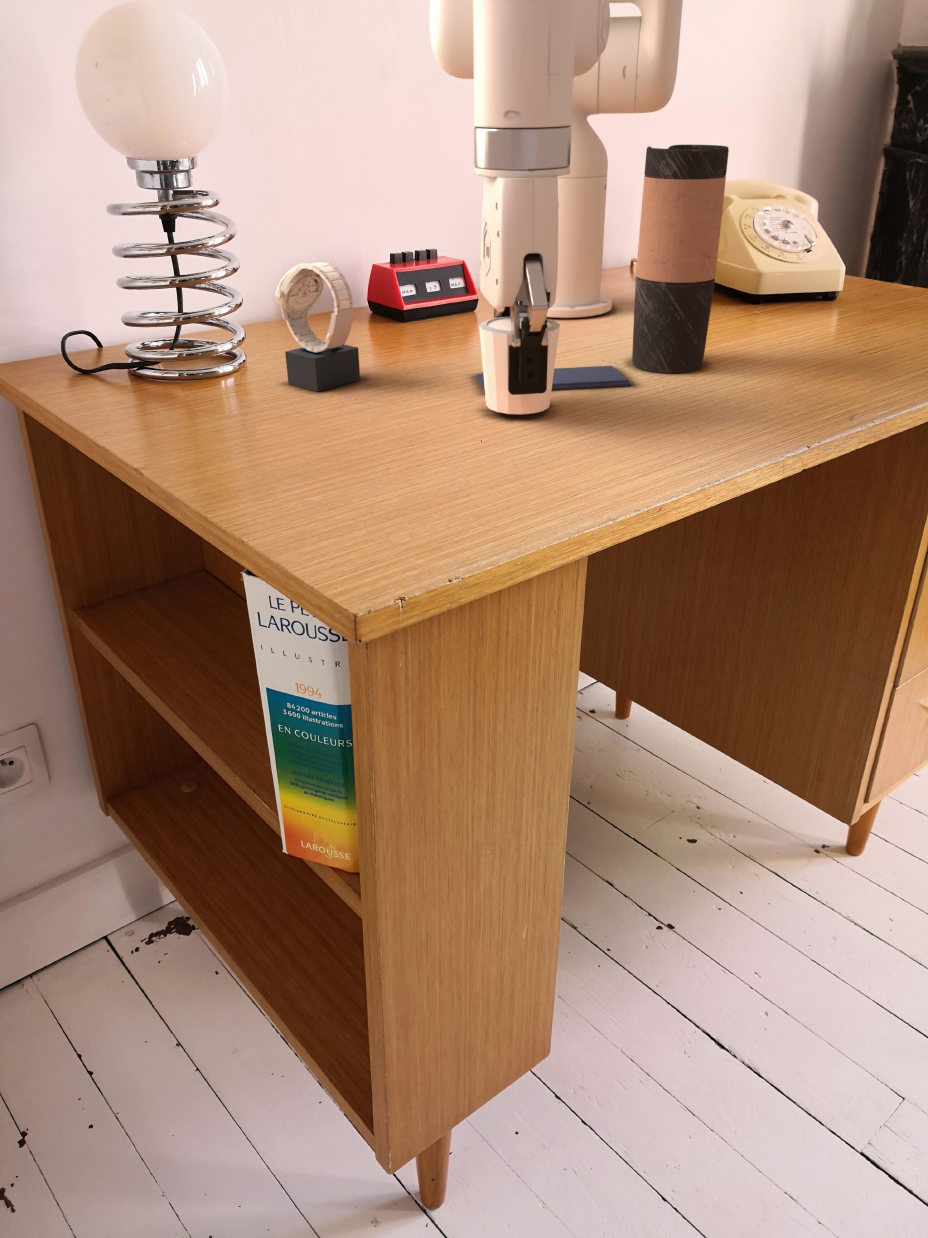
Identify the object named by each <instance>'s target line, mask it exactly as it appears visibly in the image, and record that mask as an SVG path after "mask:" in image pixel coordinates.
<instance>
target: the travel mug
mask: <svg viewBox="0 0 928 1238" xmlns="http://www.w3.org/2000/svg"><path fill="white" fill-rule="evenodd" d="M645 152H646V153H645V164H644V173H643V174H644V176H643V188H642V196H641V197H642V198H641V199H642V200H641V211H640V223H639V234H638V246H637V256H636V257H637V258H636V270H635V271H636V272H635V276H636V277H635V286H634V305H633V306H634V309H633V329H632V330H633V332H632V352H631V353H632V354H631V356H632V357H631V358H632V359H631V361H632V365H633V366H634V367H636V368H637V369H640V370H643V371H646V372H653V373H661V374H683V373H691V372H695V371H697V370H699V369H701V368H702V366H703V364H704V357H705V350H706V344H707V339H708V338H707V337H708V332H709V331H708V330H709V324H710V317H711V311H712V304H713V303H712V302H713V296H714V289H715V282H716V274H717V266H718V256H719V249H720V248H719V247H720V237H721V229H722V228H721V227H722V219H723V218H722V217H723V209H724V199H725V190H726V182H727V181H726V180H727V169H728V160H729V152H730V147H729V146H727V145H717V144H672V145H670V146H669V147H668V148H659V147H652V146H651V145H650V146H647V147H646V151H645Z"/></svg>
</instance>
